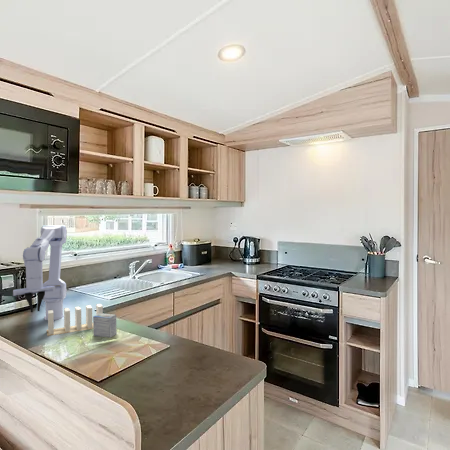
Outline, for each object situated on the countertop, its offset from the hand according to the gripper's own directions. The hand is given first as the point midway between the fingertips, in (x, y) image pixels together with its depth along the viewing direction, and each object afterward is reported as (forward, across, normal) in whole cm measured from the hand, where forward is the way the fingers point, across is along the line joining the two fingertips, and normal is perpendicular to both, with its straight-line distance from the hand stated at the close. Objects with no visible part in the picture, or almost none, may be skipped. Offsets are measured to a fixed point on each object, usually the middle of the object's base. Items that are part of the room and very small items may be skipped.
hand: (35, 311), depth 133 cm
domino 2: (+10, +12, 0) cm, 15 cm away
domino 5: (+10, +24, 0) cm, 26 cm away
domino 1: (+10, +6, 0) cm, 11 cm away
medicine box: (+11, +24, -14) cm, 30 cm away
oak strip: (+10, +16, 0) cm, 19 cm away
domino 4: (+10, +20, 0) cm, 22 cm away
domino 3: (+10, +16, 0) cm, 18 cm away
